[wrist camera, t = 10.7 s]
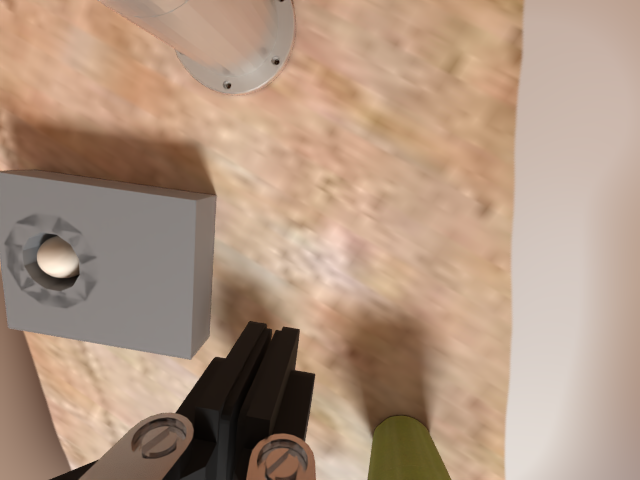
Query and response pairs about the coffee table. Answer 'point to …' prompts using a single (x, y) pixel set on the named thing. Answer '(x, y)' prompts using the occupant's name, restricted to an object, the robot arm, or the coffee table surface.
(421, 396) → the coffee table surface
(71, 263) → the ball
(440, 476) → the plant pot
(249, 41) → the robot arm
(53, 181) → the grey flat block
